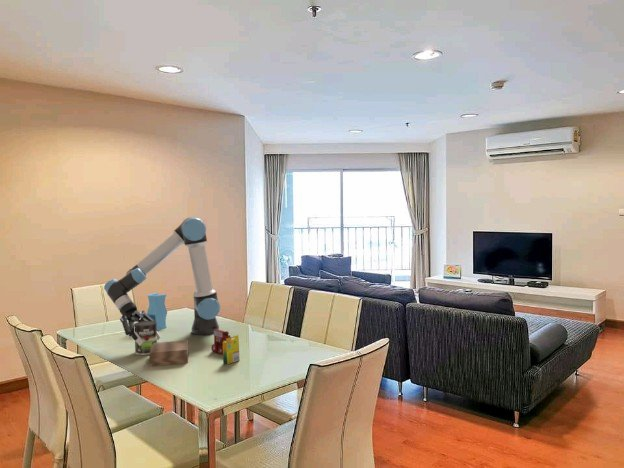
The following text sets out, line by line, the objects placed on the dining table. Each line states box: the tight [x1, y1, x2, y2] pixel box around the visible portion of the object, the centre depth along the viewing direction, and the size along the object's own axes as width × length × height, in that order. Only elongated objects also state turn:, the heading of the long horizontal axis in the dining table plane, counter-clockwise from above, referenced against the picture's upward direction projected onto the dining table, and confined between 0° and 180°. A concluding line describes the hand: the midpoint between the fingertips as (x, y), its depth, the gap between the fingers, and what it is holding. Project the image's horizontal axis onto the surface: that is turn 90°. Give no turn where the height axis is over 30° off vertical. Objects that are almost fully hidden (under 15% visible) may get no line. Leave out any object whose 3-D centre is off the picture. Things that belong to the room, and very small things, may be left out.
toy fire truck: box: [210, 329, 231, 356], centre depth 221 cm, size 7×12×10 cm, turn 50°
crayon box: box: [222, 334, 240, 365], centre depth 207 cm, size 7×3×12 cm, turn 141°
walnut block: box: [149, 339, 190, 367], centre depth 212 cm, size 16×16×6 cm
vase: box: [146, 292, 168, 331], centre depth 269 cm, size 8×8×20 cm
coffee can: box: [134, 321, 158, 356], centre depth 224 cm, size 10×10×14 cm
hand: (150, 341), depth 223 cm, fingers open, 10 cm apart
